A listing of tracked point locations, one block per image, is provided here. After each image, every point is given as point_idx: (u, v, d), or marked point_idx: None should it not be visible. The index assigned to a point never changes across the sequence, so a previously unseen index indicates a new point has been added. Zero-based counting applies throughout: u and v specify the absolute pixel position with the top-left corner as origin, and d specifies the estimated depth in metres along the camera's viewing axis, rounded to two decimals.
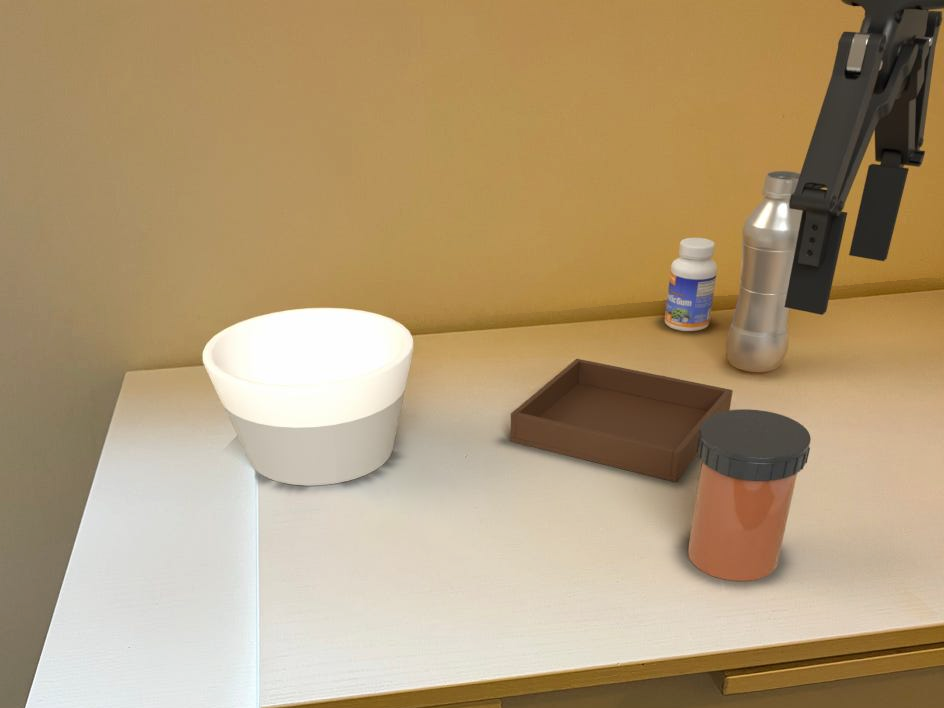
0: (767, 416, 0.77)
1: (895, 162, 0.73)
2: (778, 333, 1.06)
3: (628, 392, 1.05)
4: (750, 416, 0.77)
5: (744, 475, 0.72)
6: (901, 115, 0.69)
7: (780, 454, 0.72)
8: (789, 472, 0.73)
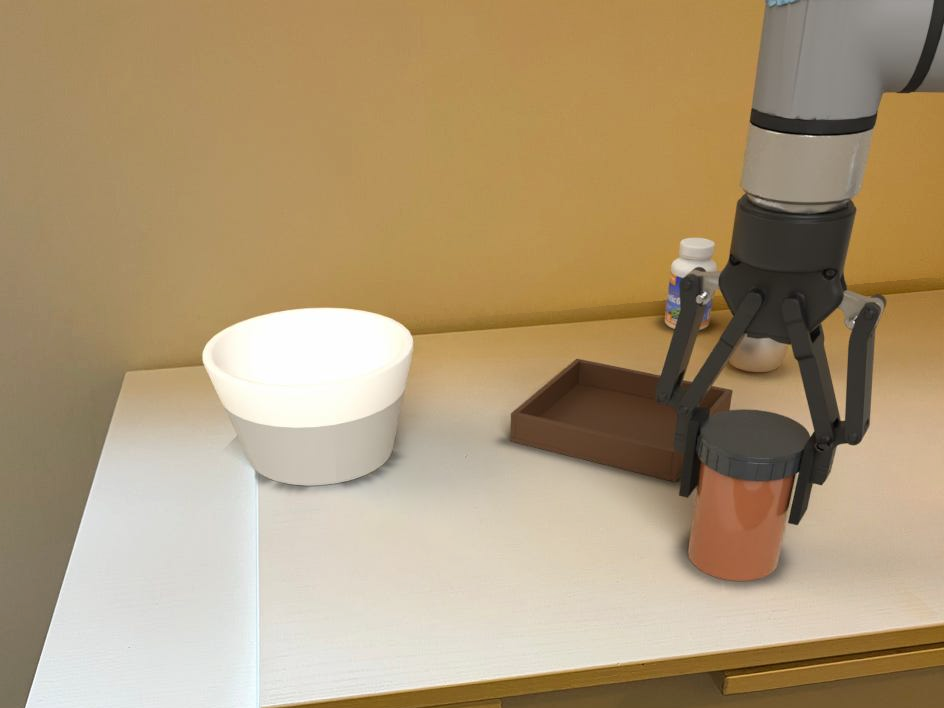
0: (767, 416, 0.77)
1: None
2: None
3: (628, 392, 1.05)
4: (750, 416, 0.77)
5: (744, 475, 0.72)
6: None
7: (780, 454, 0.72)
8: (789, 472, 0.73)
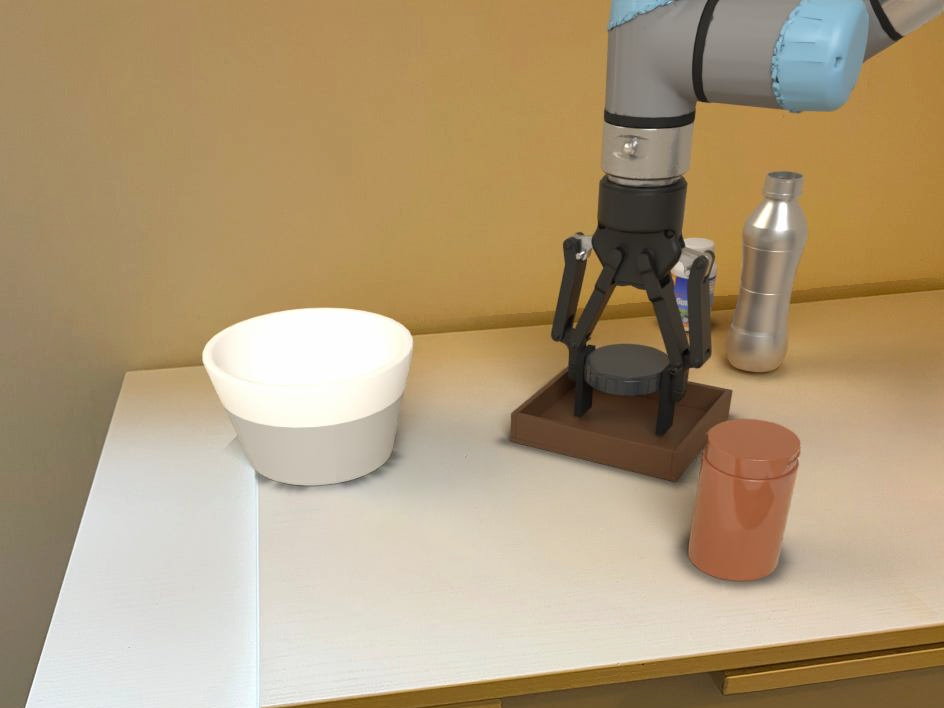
0: (614, 371, 0.93)
1: (585, 343, 0.97)
2: (778, 333, 1.06)
3: None
4: (628, 371, 0.93)
5: None
6: (607, 301, 0.94)
7: (613, 345, 0.98)
8: None
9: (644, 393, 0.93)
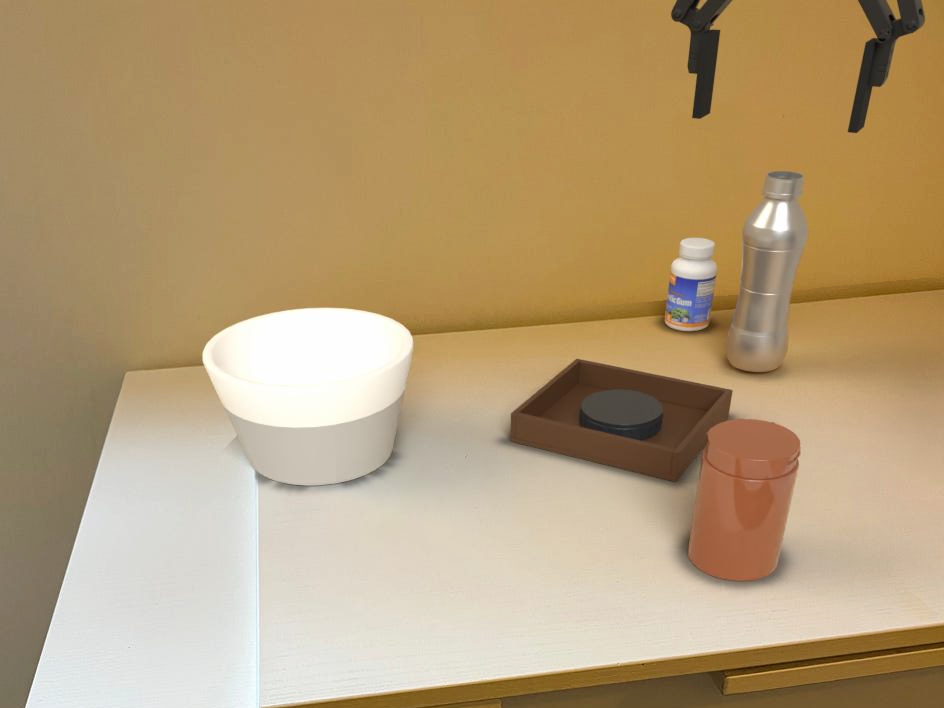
0: (608, 418, 0.96)
1: (708, 27, 0.85)
2: (778, 333, 1.06)
3: None
4: (622, 418, 0.96)
5: None
6: None
7: (607, 391, 1.01)
8: None
9: None
